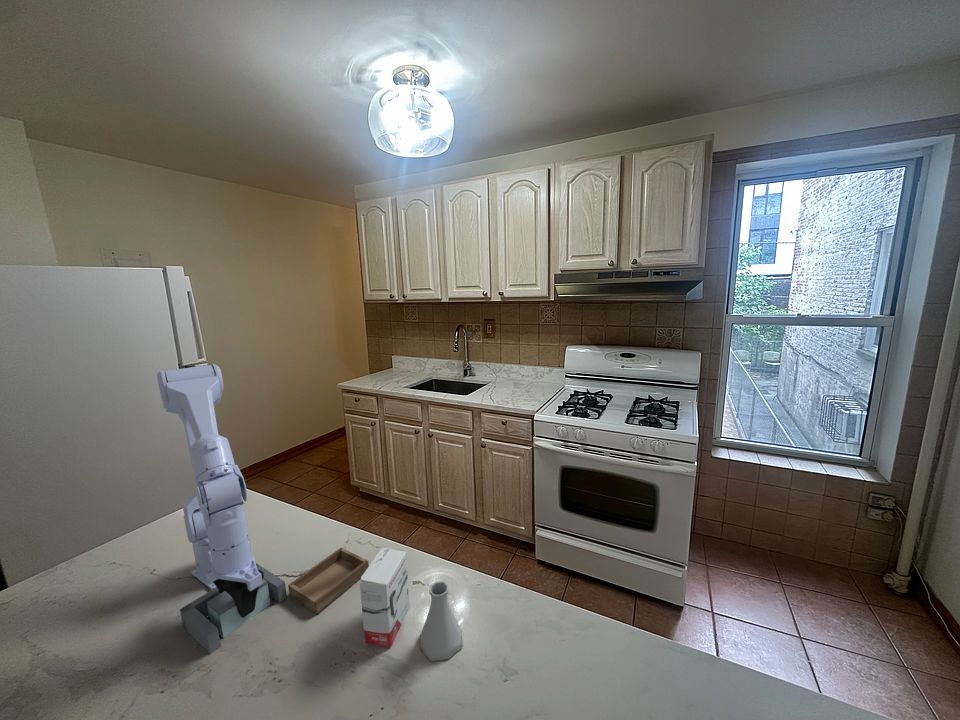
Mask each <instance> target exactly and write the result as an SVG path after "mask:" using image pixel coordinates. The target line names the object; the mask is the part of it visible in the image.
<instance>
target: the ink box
mask: <svg viewBox="0 0 960 720" xmlns="http://www.w3.org/2000/svg"><path fill="white" fill-rule="evenodd" d="M407 558H408V557H407V551H406V550H403V549H397V548H396V549H395V548H388V547H382V548H380V550H379V552H378V553H376V555H375V557H374V559H372V561H371V562H370V563H369V567H368V568H367V569H366V571H365V572H364V574H363V575H362V577H361V579H360V580H359V589H360V590H359V591H360V603H361V611H362V613H361V614H362V615H361V616H362V624H363V635H364V636H363V637H364V642H365V643H364V644H367V645H372V646H377V647H384V648H391V647H392V646H393V643H394V642H395V639H396V637H397V635H398V633H399V632H400V629H401V627H402V624H403V623H404V620H405V619H406V616H407V614H408V612H409V609H410V608H411V601H410V600H411V599H410V587H409V573H408V560H407Z"/></svg>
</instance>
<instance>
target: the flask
mask: <svg viewBox="0 0 960 720" xmlns="http://www.w3.org/2000/svg"><path fill="white" fill-rule="evenodd" d="M428 589H429V590H428V593H429V596H430V597H431V600H430V607H429V610H428V613H427V616H426V619H425V621H424V624H423V627H422V630H421V633H420V644H419V649H420V650H421V651H422V653H423V654H424V655H425V657H426V658H427V659H428V661H433V662H434V661H441V660H449V659H450V658H452V656H454V655H455V654H456V653H458V651H460V650H461V649H462V648H463V631H462V628H461V626H460V625H459V623H458V620H457V619H456V616H455V615H454V612H453V611H452V608H451V606H450V602H449V600H448V595H449V584H448V583H447V582H446V581H445V580H436V581H434V582H433V583H432V584H430V585H429V588H428Z"/></svg>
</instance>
